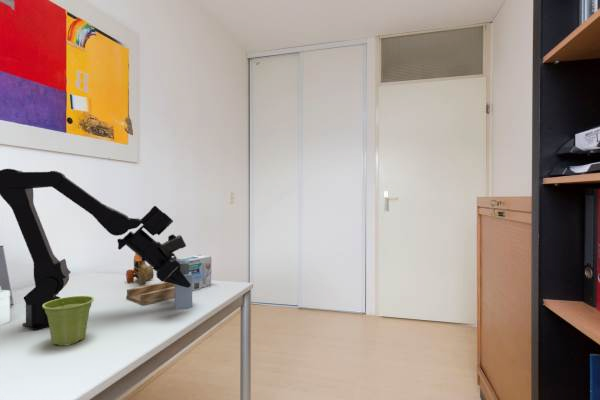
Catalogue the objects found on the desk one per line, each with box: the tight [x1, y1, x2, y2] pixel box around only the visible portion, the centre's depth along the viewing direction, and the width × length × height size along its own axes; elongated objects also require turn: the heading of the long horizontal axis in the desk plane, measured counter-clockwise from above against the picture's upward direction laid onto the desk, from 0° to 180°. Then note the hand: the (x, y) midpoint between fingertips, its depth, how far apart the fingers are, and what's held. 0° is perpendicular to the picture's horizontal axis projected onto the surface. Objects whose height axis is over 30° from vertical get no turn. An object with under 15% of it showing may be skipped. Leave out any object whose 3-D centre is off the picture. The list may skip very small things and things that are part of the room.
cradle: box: [126, 281, 174, 307], centre depth 108 cm, size 14×11×3 cm
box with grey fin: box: [173, 263, 193, 311], centre depth 98 cm, size 4×4×12 cm
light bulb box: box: [177, 254, 212, 291], centre depth 120 cm, size 11×7×11 cm, turn 147°
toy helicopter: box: [125, 252, 155, 285], centre depth 123 cm, size 8×21×14 cm, turn 39°
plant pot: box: [42, 295, 95, 346], centre depth 75 cm, size 9×9×9 cm
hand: (187, 282), depth 99 cm, fingers open, 9 cm apart
